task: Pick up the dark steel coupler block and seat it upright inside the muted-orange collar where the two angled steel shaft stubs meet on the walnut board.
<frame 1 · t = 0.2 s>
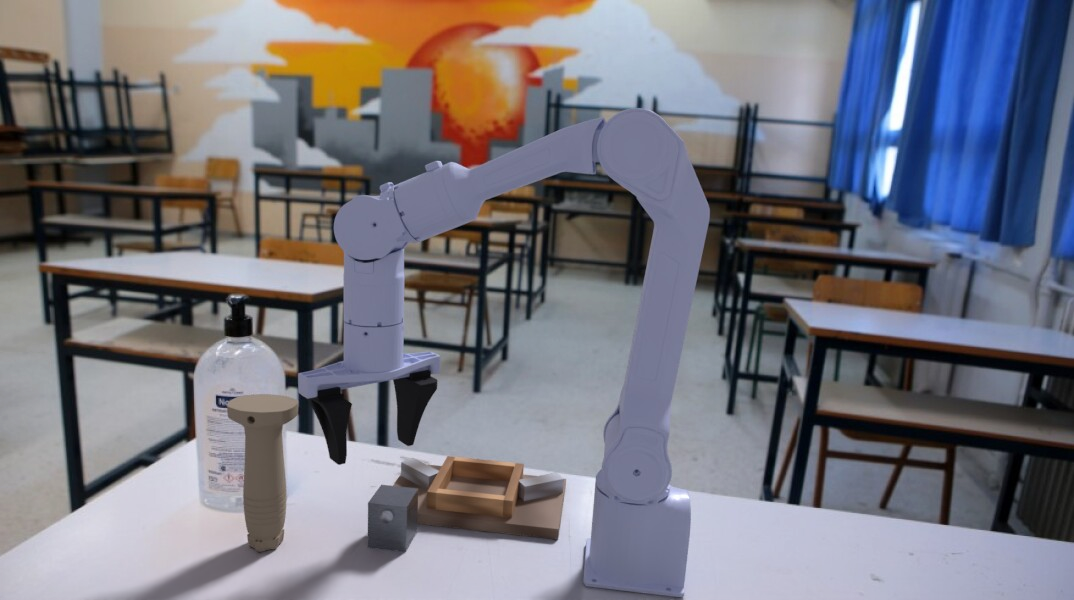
hand: (372, 451, 68), 10 cm above the table, tool pointing down, fingers open, 7 cm apart
coupler block: (392, 539, 70), on the table
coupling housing: (476, 502, 79), on the table
handle: (266, 546, 68), on the table
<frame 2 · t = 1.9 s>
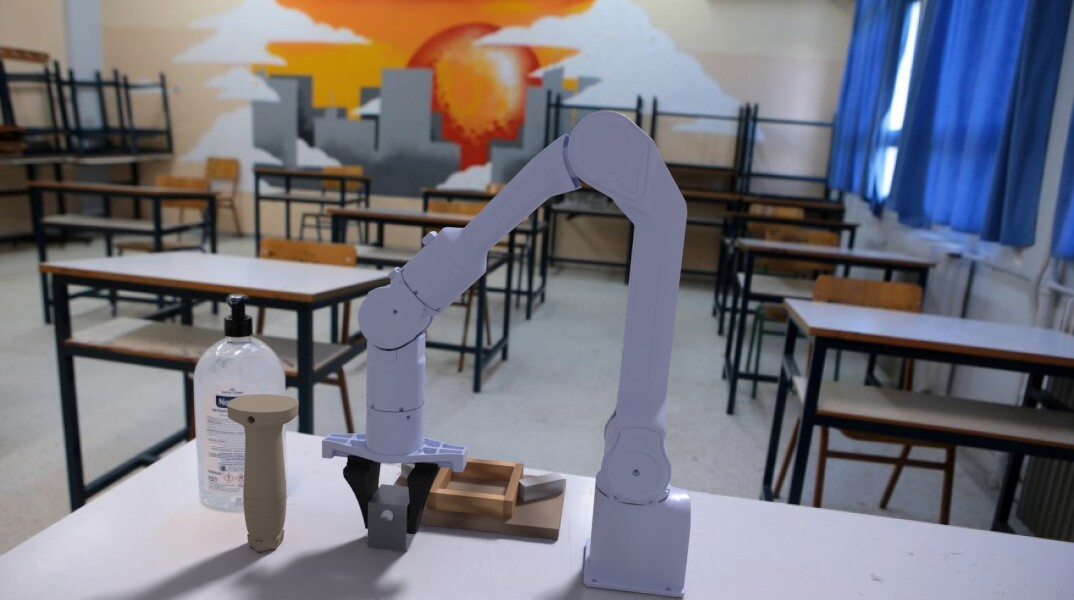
hand: (393, 526, 70), 1 cm above the table, tool pointing down, fingers closed on coupler block, 4 cm apart
coupler block: (392, 539, 70), on the table, touching gripper
everything else where it was.
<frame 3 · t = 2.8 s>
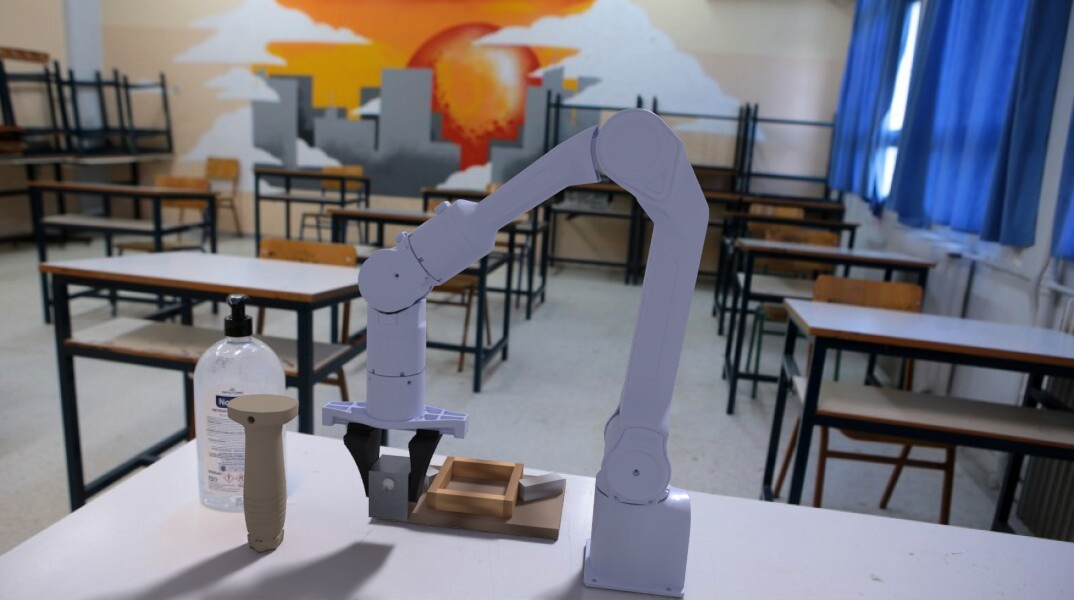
hand: (394, 495, 69), 5 cm above the table, tool pointing down, fingers closed on coupler block, 4 cm apart
coupler block: (394, 509, 70), point 3 cm above the table, touching gripper
everything else where it was.
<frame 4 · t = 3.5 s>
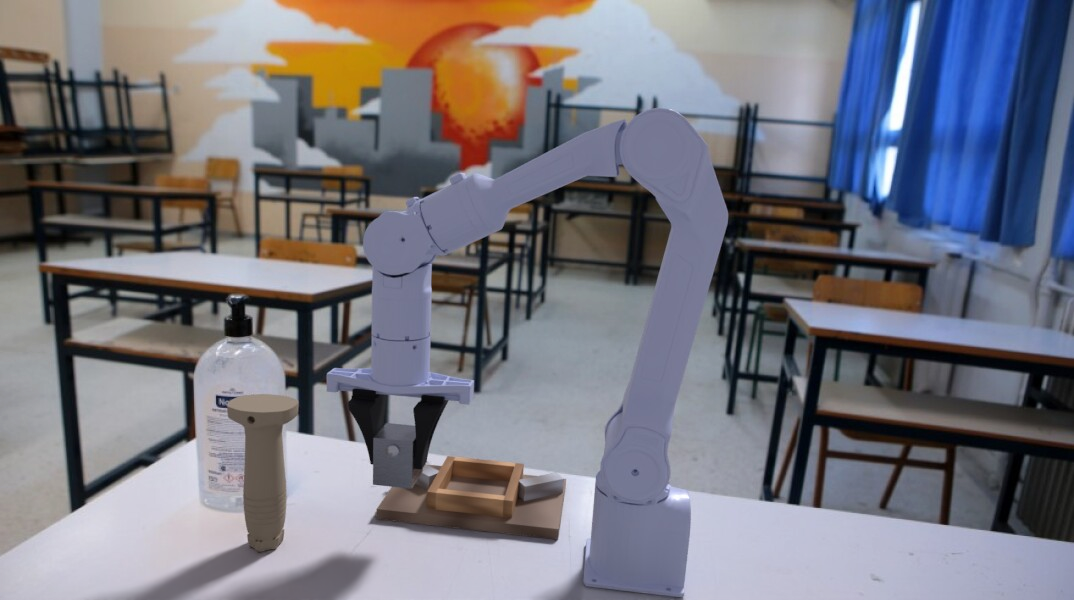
hand: (398, 462, 69), 8 cm above the table, tool pointing down, fingers closed on coupler block, 4 cm apart
coupler block: (398, 477, 69), point 7 cm above the table, touching gripper
everything else where it was.
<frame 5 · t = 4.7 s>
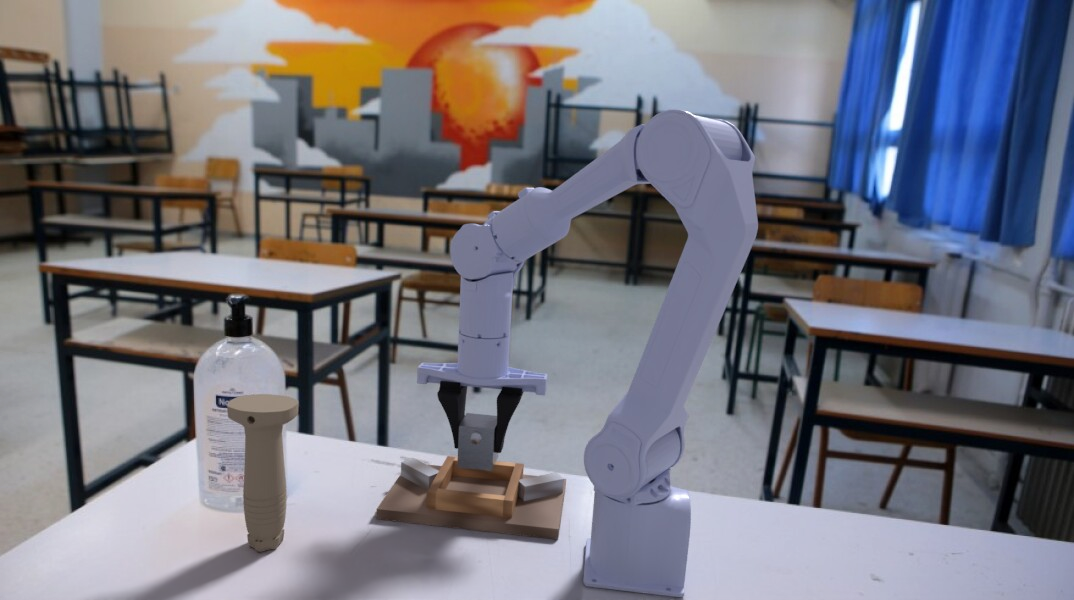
hand: (479, 447, 78), 7 cm above the table, tool pointing down, fingers closed on coupler block, 4 cm apart
coupler block: (478, 461, 78), point 5 cm above the table, touching gripper
everything else where it was.
when the fingers open (4 cm above the table, at t = 5.6 s): coupler block stays where it is, resting on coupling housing.
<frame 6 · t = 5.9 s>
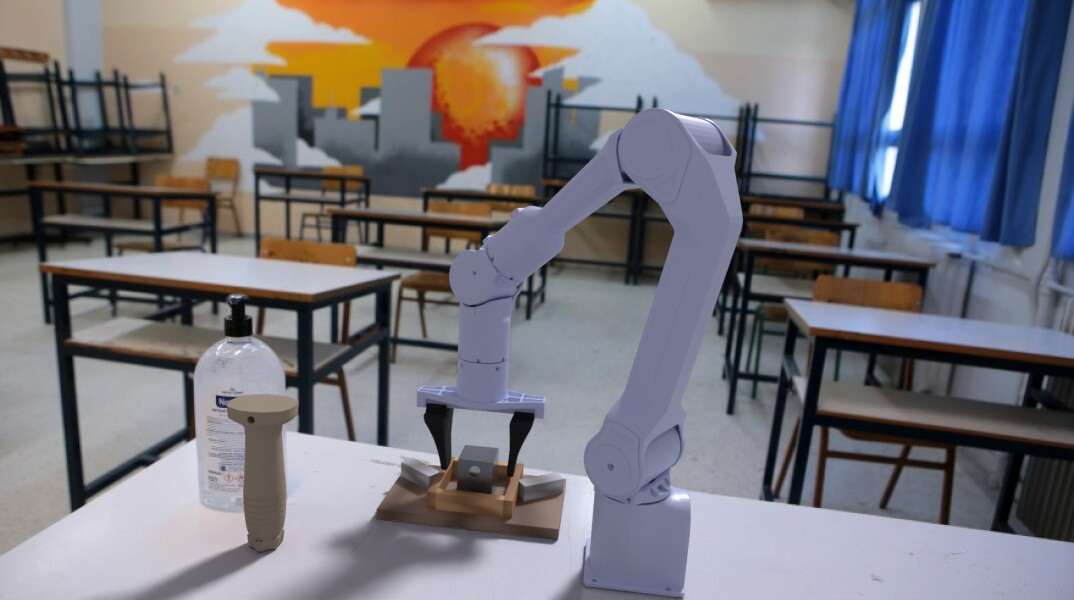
hand: (478, 469, 78), 4 cm above the table, tool pointing down, fingers open, 7 cm apart
coupler block: (477, 493, 79), point 1 cm above the table, touching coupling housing
everything else where it was.
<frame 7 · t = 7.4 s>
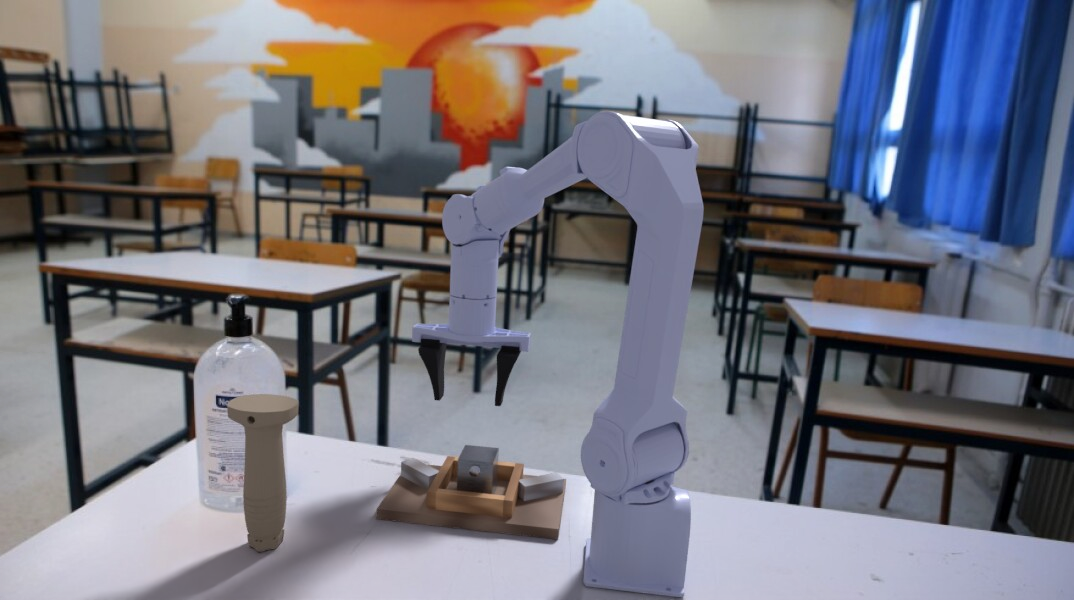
hand: (468, 400, 85), 9 cm above the table, tool pointing down, fingers open, 7 cm apart
nothing on the table moved.
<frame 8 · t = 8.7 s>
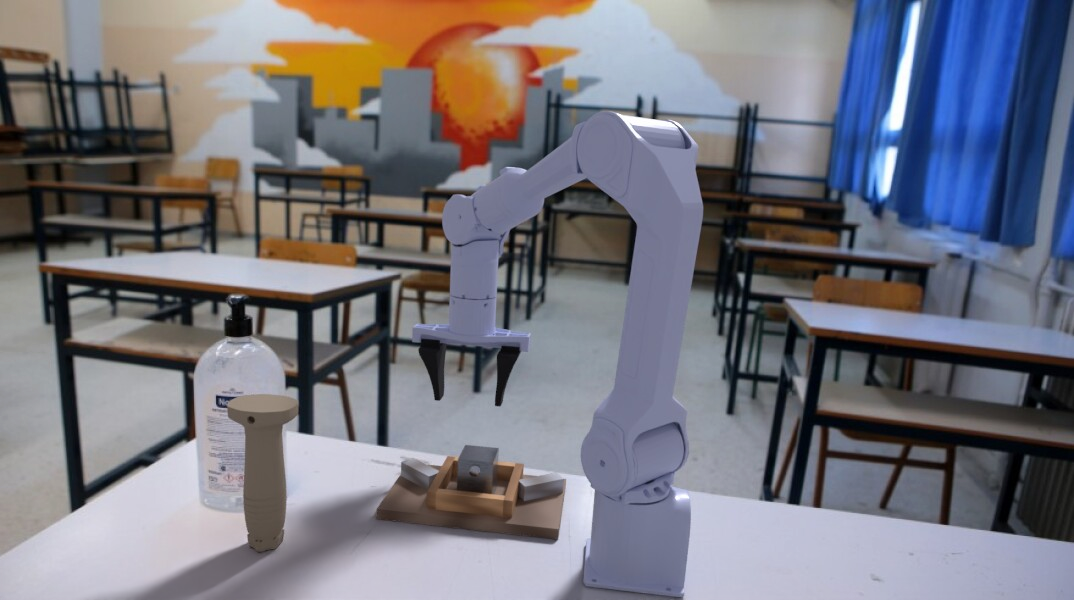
hand: (468, 400, 85), 9 cm above the table, tool pointing down, fingers open, 7 cm apart
nothing on the table moved.
at the end: coupler block 0.2 cm off-centre on the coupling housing, point 1.2 cm above the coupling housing's base; coupler block tilted 0°; the gripper is holding nothing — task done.
